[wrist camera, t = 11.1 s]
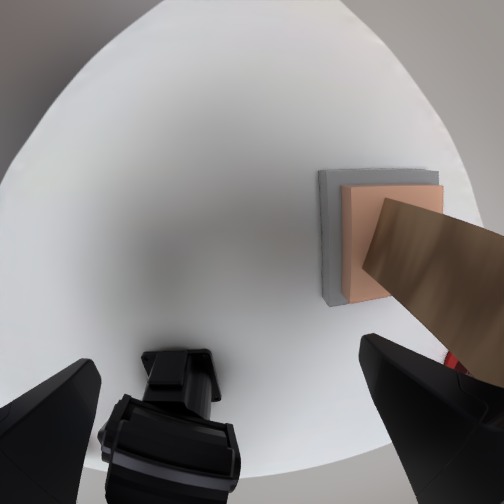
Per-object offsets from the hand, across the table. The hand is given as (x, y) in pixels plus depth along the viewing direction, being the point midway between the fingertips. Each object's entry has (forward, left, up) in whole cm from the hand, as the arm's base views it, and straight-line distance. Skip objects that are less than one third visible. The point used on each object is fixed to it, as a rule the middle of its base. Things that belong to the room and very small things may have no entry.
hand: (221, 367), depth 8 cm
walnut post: (0, -12, -10) cm, 15 cm away
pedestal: (0, -12, -13) cm, 18 cm away
